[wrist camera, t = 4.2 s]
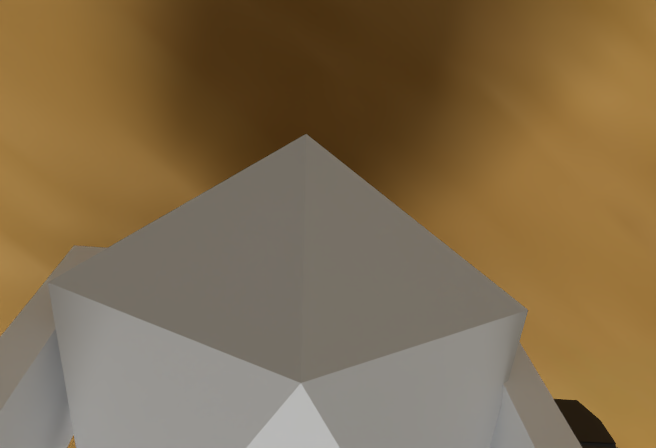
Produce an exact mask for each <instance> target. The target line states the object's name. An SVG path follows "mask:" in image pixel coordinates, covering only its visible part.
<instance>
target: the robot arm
mask: <svg viewBox="0 0 656 448" xmlns="http://www.w3.org/2000/svg"><path fill="white" fill-rule="evenodd" d="M105 249H107V248H101V247H88V246H75V245H74V246H73V248H72V249H71V250H70V251H69V253H68V254H67V255H66V256H65V257H64V259H63V260H62V261H61V262H60V264H59V265H58V266H57V267H56V269H55V270H54V271H53V272H52V274H51V275H50V276H49V277H48V279H47V280H46V281H45V282H44V283H43V285H42V286H41V287H40V288H39V290H38V291H37V292H36V293H35V295H34V296H33V297H32V298H31V300H30V301H29V302H28V303H27V305H26V306H25V307H24V308H23V310H22V311H21V312H20V313H19V314H18V316H17V317H16V318H15V319H14V321H13V322H12V323H11V324H10V326H9V327H8V328H7V329H6V331H5V332H4V333H3V334H2V336H1V337H0V448H67V447H68V445H69V443H70V441H71V439H72V436H73V434H74V432H73V427H72V421H71V415H70V409H69V403H68V398H67V392H66V386H65V380H64V375H63V369H62V363H61V357H60V351H59V346H58V340H57V334H56V328H55V322H54V317H53V311H52V305H51V299H50V294H49V288H48V282H49V281H51V280H53V279H54V278H56V277H58V276H60V275H61V274H63V273H65V272H66V271H68V270H70V269H72V268H73V267H75V266H77V265H79V264H80V263H82V262H84V261H86V260H87V259H89V258H91V257H93V256H94V255H96V254H98V253H100V252H101V251H103V250H105ZM615 444H616V443H615V441H614V440H613V438H612V437H611V435H610V434H609V433H608V431H607V430H606V428H605V427H604V425H603V424H602V422H601V421H600V420H599V419H598V418H597V417H596V416H595V415H593V414H592V413H591V412H590V411H589V410H588V409H586V408H585V407H584V406H583V405H582V404H581V403H579V402H578V401H577V400H562V399H553V398H552V396H551V394H550V393H549V391H548V389H547V388H546V386H545V384H544V383H543V381H542V379H541V377H540V376H539V374H538V372H537V371H536V369H535V367H534V366H533V364H532V362H531V361H530V359H529V357H528V356H527V354H526V352H525V351H524V349H523V347H522V346H521V344H520V342H519V344H518V348H517V351H516V355H515V358H514V362H513V365H512V369H511V373H510V376H509V380H508V381H507V382H505V383H504V384H503V395H502V405H501V408H500V412H499V416H498V419H497V423H496V426H495V430H494V433H493V437H492V441H491V444H490V448H616V446H615Z"/></svg>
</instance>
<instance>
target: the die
mask: <svg viewBox="0 0 656 448" xmlns="http://www.w3.org/2000/svg"><path fill="white" fill-rule="evenodd" d="M48 288H49V294H50V299H51V305H52V311H53V317H54V322H55V328H56V334H57V340H58V346H59V351H60V357H61V363H62V369H63V375H64V380H65V386H66V392H67V398H68V403H69V409H70V415H71V421H72V427H73V432H74V438H75V444H76V448H490V444H491V441H492V437H493V433H494V430H495V426H496V423H497V419H498V416H499V412H500V408H501V405H502V395H503V384H504V383H505V382H507V381H508V380H509V376H510V373H511V369H512V365H513V362H514V358H515V355H516V351H517V348H518V344H519V340H520V337H521V333H522V330H523V326H524V323H525V319H526V315H527V312H528V310H527V309H526V308H525V307H524V306H522V305H521V304H520V303H519V302H517V301H516V300H515V299H514V298H512V297H511V296H510V295H509V294H507V293H506V292H505V291H503V290H502V289H501V288H500V287H498V286H497V285H496V284H495V283H493V282H492V281H491V280H490V279H488V278H487V277H486V276H485V275H483V274H482V273H481V272H480V271H478V270H477V269H476V268H475V267H473V266H472V265H471V264H469V263H468V262H467V261H466V260H464V259H463V258H462V257H461V256H459V255H458V254H457V253H456V252H454V251H453V250H452V249H451V248H449V247H448V246H447V245H446V244H444V243H443V242H442V241H441V240H439V239H438V238H437V237H435V236H434V235H433V234H432V233H430V232H429V231H428V230H427V229H425V228H424V227H423V226H422V225H420V224H419V223H418V222H417V221H415V220H414V219H413V218H412V217H410V216H409V215H408V214H407V213H405V212H404V211H403V210H401V209H400V208H399V207H398V206H396V205H395V204H394V203H393V202H391V201H390V200H389V199H388V198H386V197H385V196H384V195H383V194H381V193H380V192H379V191H378V190H376V189H375V188H374V187H373V186H371V185H370V184H369V183H367V182H366V181H365V180H364V179H362V178H361V177H360V176H359V175H357V174H356V173H355V172H354V171H352V170H351V169H350V168H349V167H347V166H346V165H345V164H344V163H342V162H341V161H340V160H339V159H337V158H336V157H335V156H333V155H332V154H331V153H330V152H328V151H327V150H326V149H325V148H323V147H322V146H321V145H320V144H318V143H317V142H316V141H315V140H313V139H312V138H311V137H310V136H308V135H307V134H305V135H303V136H302V137H300V138H298V139H296V140H295V141H293V142H291V143H289V144H288V145H286V146H284V147H282V148H281V149H279V150H277V151H275V152H274V153H272V154H270V155H268V156H267V157H265V158H263V159H261V160H260V161H258V162H256V163H254V164H253V165H251V166H249V167H248V168H246V169H244V170H242V171H241V172H239V173H237V174H235V175H234V176H232V177H230V178H228V179H227V180H225V181H223V182H221V183H220V184H218V185H216V186H214V187H213V188H211V189H209V190H207V191H206V192H204V193H202V194H201V195H199V196H197V197H195V198H194V199H192V200H190V201H188V202H187V203H185V204H183V205H181V206H180V207H178V208H176V209H174V210H173V211H171V212H169V213H167V214H166V215H164V216H162V217H160V218H159V219H157V220H155V221H154V222H152V223H150V224H148V225H147V226H145V227H143V228H141V229H140V230H138V231H136V232H134V233H133V234H131V235H129V236H127V237H126V238H124V239H122V240H120V241H119V242H117V243H115V244H113V245H112V246H110V247H108V248H107V249H105V250H103V251H101V252H100V253H98V254H96V255H94V256H93V257H91V258H89V259H87V260H86V261H84V262H82V263H80V264H79V265H77V266H75V267H73V268H72V269H70V270H68V271H66V272H65V273H63V274H61V275H60V276H58V277H56V278H54V279H53V280H51V281H49V282H48Z"/></svg>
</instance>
